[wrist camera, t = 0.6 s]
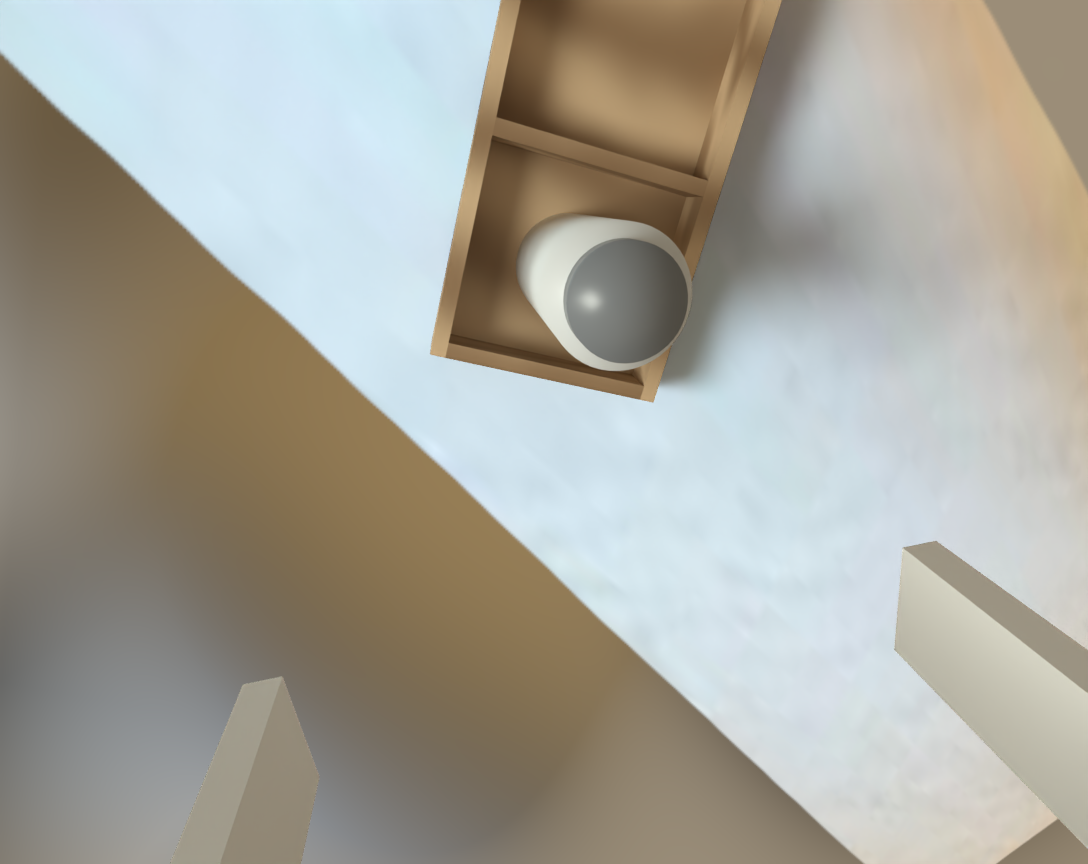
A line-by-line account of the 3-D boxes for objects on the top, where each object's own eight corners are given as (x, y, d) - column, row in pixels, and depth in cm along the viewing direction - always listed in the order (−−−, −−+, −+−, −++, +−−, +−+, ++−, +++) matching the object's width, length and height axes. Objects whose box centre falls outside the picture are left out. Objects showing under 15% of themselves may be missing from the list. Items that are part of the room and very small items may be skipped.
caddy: (528, -134, 30) (537, -173, 27) (769, -41, 32) (802, -65, 29) (431, 341, 37) (430, 354, 33) (637, 386, 39) (653, 402, 36)
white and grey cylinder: (503, 230, 34) (533, 248, 22) (603, 200, 34) (688, 201, 22) (531, 329, 36) (574, 397, 24) (625, 301, 36) (715, 353, 24)
